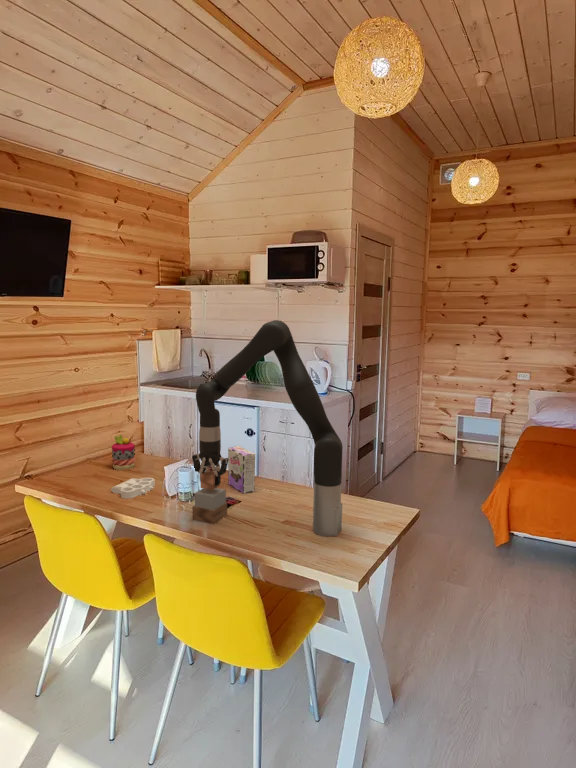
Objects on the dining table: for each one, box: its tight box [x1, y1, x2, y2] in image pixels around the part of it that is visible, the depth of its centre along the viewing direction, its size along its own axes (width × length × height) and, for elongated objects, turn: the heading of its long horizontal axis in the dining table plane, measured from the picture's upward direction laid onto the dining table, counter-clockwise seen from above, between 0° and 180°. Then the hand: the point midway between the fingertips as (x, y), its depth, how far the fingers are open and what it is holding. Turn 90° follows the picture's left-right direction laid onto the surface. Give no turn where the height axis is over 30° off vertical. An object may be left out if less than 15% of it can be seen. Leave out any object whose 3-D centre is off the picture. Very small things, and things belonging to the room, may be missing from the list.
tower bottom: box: [191, 501, 228, 525], centre depth 184 cm, size 9×9×5 cm
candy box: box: [227, 445, 256, 494], centre depth 215 cm, size 14×6×16 cm, turn 33°
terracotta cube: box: [199, 470, 221, 490], centre depth 183 cm, size 5×5×5 cm
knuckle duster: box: [110, 477, 156, 499], centre depth 210 cm, size 3×18×15 cm
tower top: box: [194, 487, 227, 510], centre depth 184 cm, size 8×8×5 cm
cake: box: [110, 434, 137, 471], centre depth 240 cm, size 10×11×15 cm
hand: (210, 484), depth 183 cm, fingers closed on terracotta cube, 5 cm apart
